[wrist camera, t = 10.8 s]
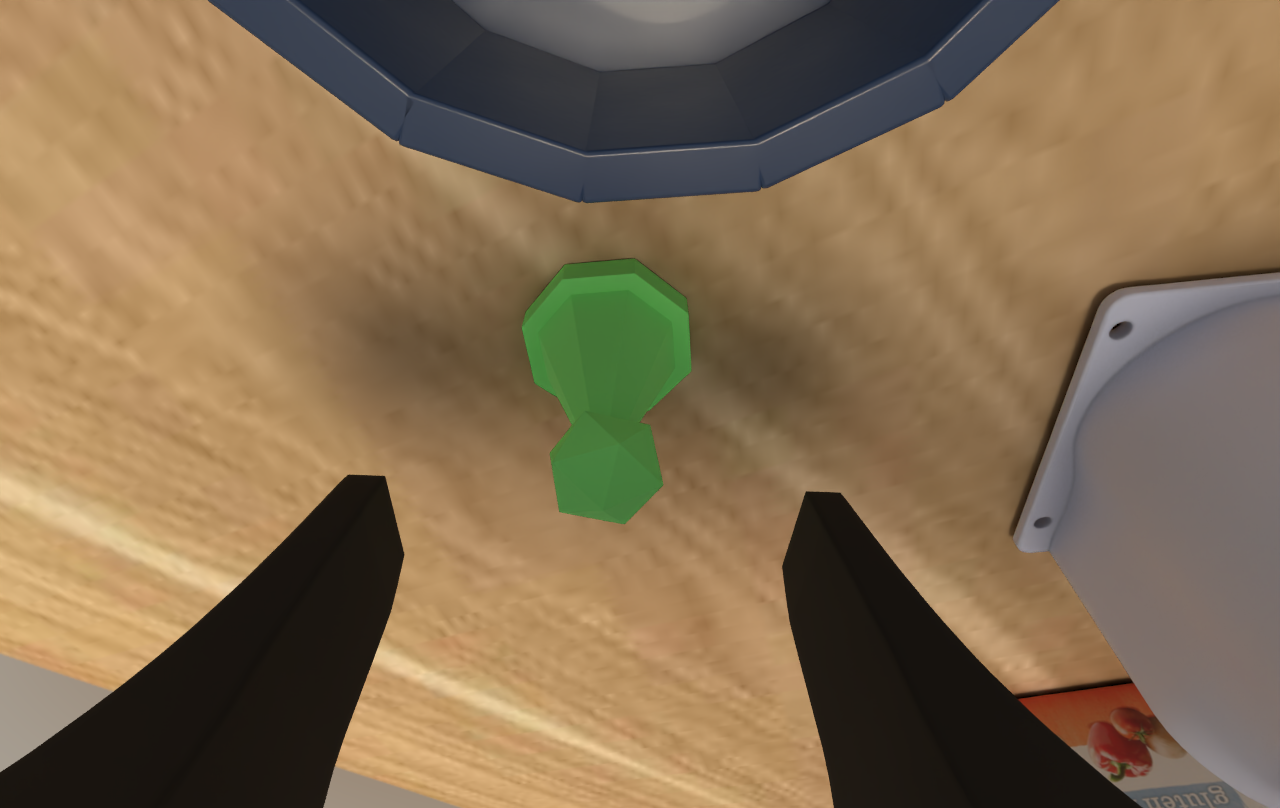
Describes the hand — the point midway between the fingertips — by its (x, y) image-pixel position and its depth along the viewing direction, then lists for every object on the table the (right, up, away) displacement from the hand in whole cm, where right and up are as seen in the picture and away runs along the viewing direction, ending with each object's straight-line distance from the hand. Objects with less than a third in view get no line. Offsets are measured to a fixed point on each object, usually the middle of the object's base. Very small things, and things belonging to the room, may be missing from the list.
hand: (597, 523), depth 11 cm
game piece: (0, +4, +5) cm, 7 cm away
